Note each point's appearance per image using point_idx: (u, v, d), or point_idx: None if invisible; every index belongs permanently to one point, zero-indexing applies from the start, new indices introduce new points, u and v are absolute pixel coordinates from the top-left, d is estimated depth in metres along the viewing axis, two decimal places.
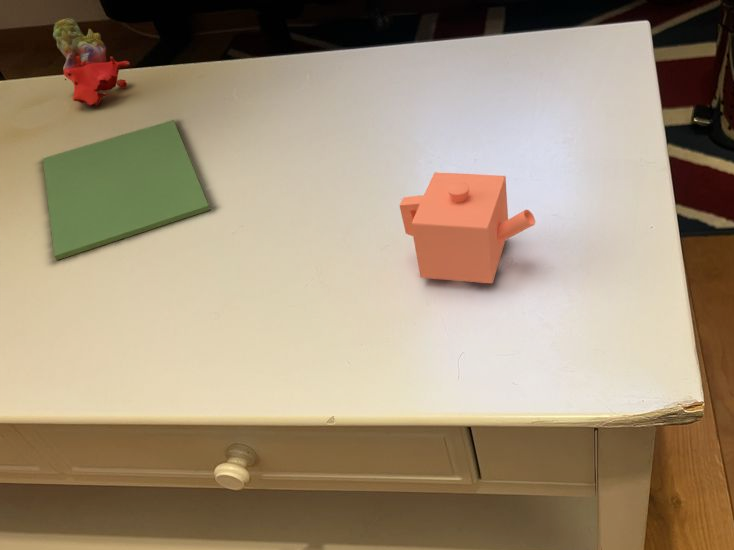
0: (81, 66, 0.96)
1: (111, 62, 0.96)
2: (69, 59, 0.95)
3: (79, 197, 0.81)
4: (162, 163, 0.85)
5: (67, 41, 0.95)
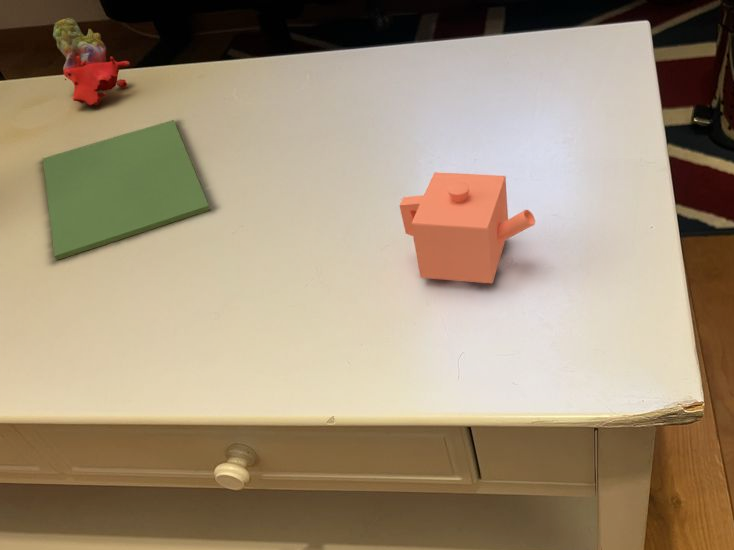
0: (81, 66, 0.96)
1: (111, 62, 0.96)
2: (69, 59, 0.95)
3: (79, 197, 0.81)
4: (162, 163, 0.85)
5: (67, 41, 0.95)
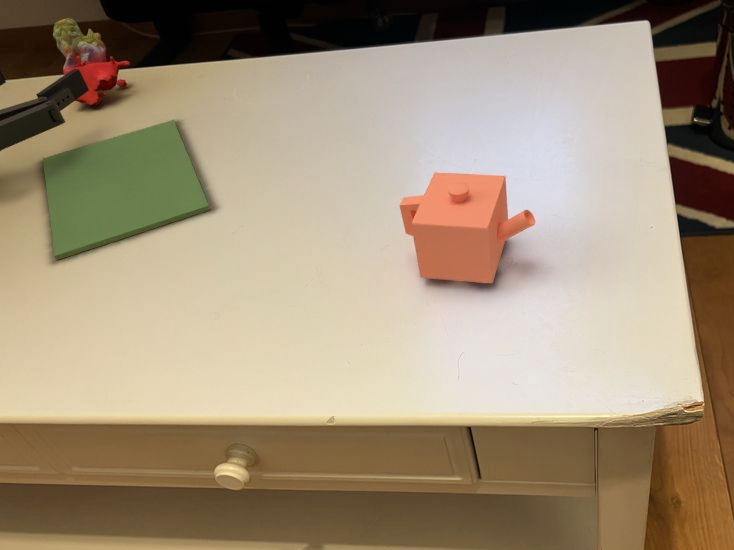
0: (81, 66, 0.96)
1: (111, 62, 0.96)
2: (69, 59, 0.95)
3: (79, 197, 0.81)
4: (162, 163, 0.85)
5: (67, 41, 0.95)
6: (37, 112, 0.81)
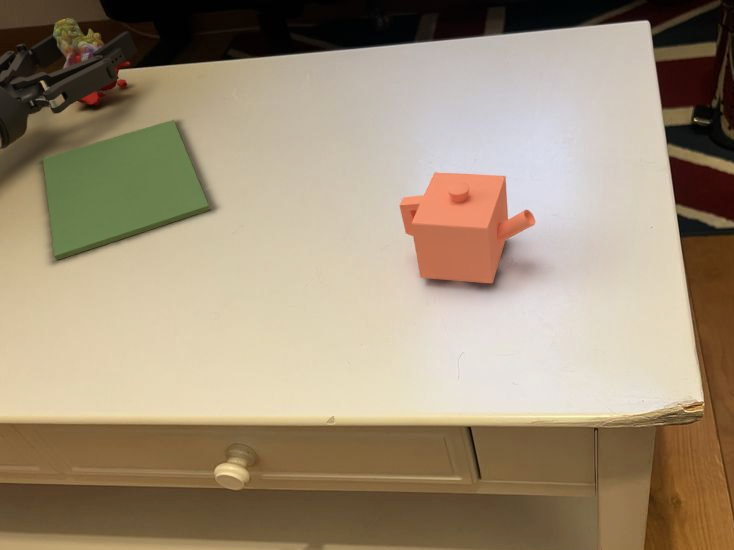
0: None
1: None
2: (69, 59, 0.95)
3: (79, 197, 0.81)
4: (162, 163, 0.85)
5: (67, 41, 0.95)
6: (97, 68, 0.89)
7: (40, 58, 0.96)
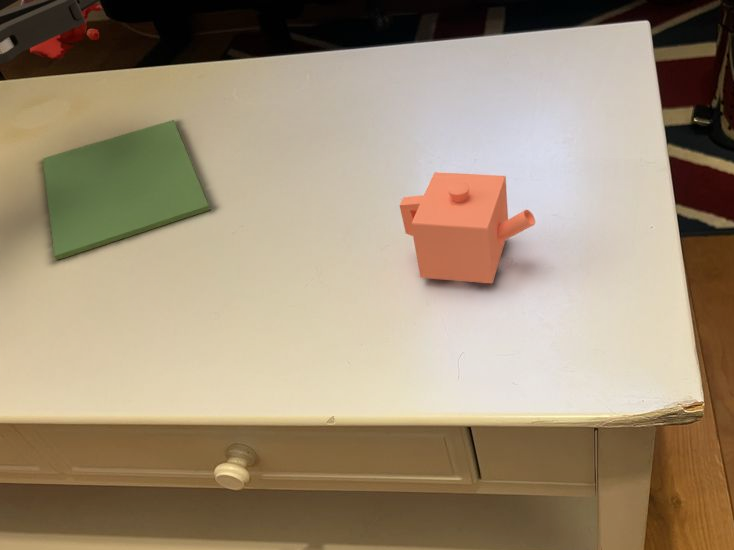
0: None
1: None
2: (25, 0, 0.76)
3: (79, 197, 0.81)
4: (162, 163, 0.85)
5: None
6: (57, 7, 0.70)
7: None
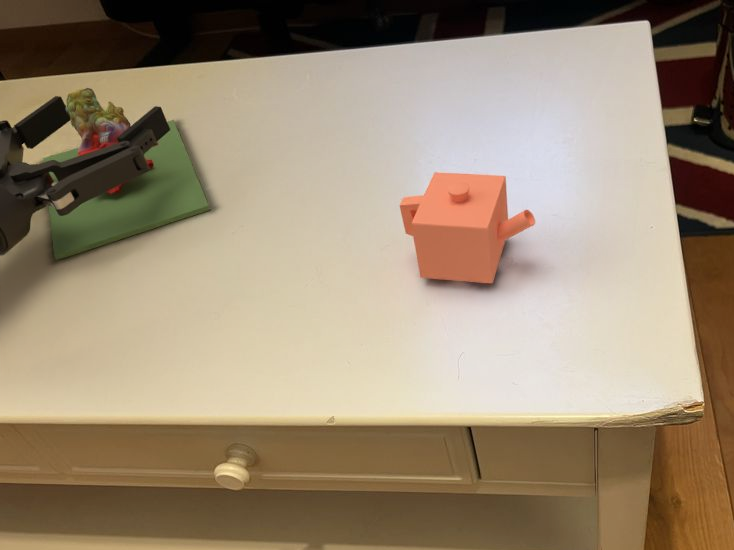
0: (100, 148, 0.79)
1: None
2: (85, 140, 0.78)
3: None
4: (162, 163, 0.85)
5: (82, 118, 0.78)
6: (121, 160, 0.71)
7: (27, 137, 0.78)
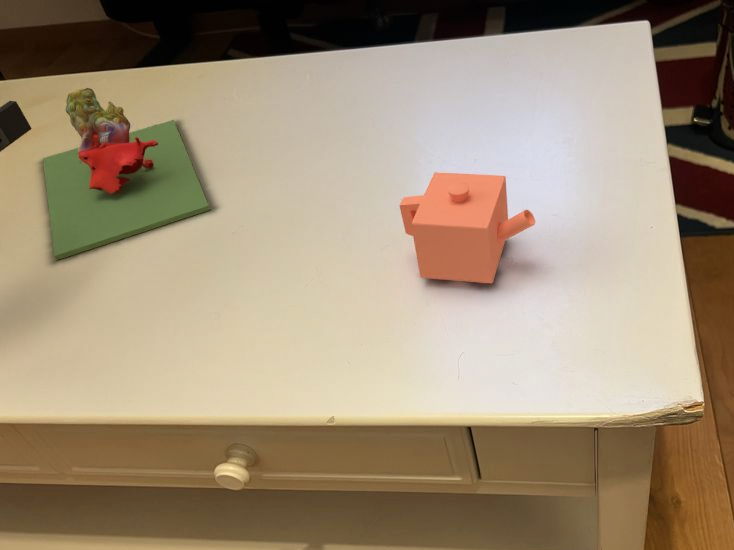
0: (100, 148, 0.79)
1: (136, 143, 0.79)
2: (85, 140, 0.78)
3: (79, 197, 0.81)
4: (162, 163, 0.85)
5: (82, 118, 0.78)
6: None
7: None
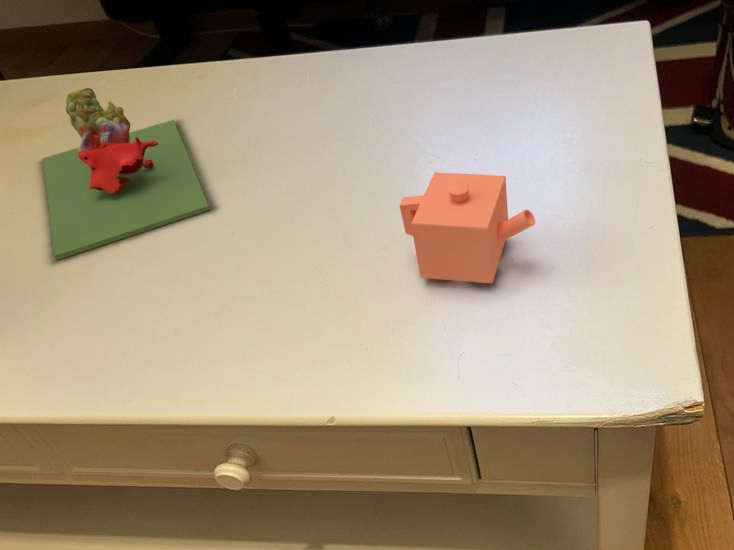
0: (100, 148, 0.79)
1: (136, 143, 0.79)
2: (85, 140, 0.78)
3: (79, 197, 0.81)
4: (162, 163, 0.85)
5: (82, 118, 0.78)
6: None
7: None
